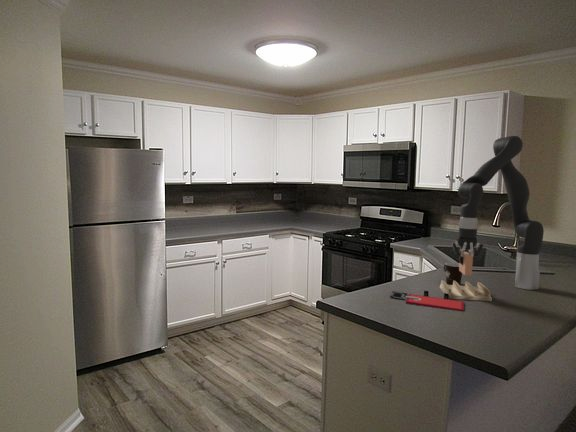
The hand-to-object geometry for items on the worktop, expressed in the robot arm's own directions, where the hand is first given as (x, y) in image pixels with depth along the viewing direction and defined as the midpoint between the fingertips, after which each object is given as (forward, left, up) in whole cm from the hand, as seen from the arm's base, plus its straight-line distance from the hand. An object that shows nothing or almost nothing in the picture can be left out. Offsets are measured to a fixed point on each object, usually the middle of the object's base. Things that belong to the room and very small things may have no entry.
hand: (465, 264), depth 180 cm
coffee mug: (+1, -18, -14) cm, 23 cm away
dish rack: (0, 0, -14) cm, 14 cm away
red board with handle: (+19, +15, -15) cm, 28 cm away
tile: (0, 0, -4) cm, 4 cm away
